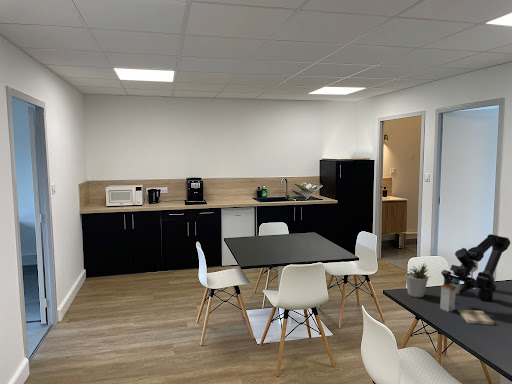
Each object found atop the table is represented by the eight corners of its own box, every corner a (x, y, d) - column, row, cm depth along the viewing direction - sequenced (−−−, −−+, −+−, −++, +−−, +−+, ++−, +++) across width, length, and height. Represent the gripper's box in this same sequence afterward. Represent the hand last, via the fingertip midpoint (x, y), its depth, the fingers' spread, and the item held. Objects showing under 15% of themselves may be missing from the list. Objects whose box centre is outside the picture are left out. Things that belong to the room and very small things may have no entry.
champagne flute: (479, 289, 245) (481, 251, 242) (468, 288, 245) (470, 251, 243) (473, 285, 251) (475, 248, 249) (462, 285, 251) (465, 248, 249)
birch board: (482, 313, 205) (482, 310, 205) (494, 324, 192) (494, 321, 191) (458, 312, 207) (458, 309, 207) (468, 323, 193) (468, 320, 193)
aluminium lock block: (446, 307, 214) (447, 284, 213) (454, 310, 210) (455, 286, 209) (440, 308, 212) (441, 285, 211) (448, 311, 208) (449, 288, 206)
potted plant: (419, 300, 223) (421, 266, 221) (400, 293, 235) (401, 261, 233) (433, 297, 230) (435, 263, 228) (413, 290, 241) (415, 258, 240)
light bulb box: (459, 294, 235) (460, 276, 234) (447, 293, 236) (448, 276, 235) (454, 288, 245) (455, 271, 244) (442, 287, 246) (443, 271, 245)
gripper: (444, 255, 221) (430, 277, 216) (476, 263, 204) (461, 287, 200) (452, 267, 225) (438, 289, 221) (484, 276, 209) (470, 299, 204)
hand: (451, 290), depth 211 cm, fingers open, 9 cm apart
